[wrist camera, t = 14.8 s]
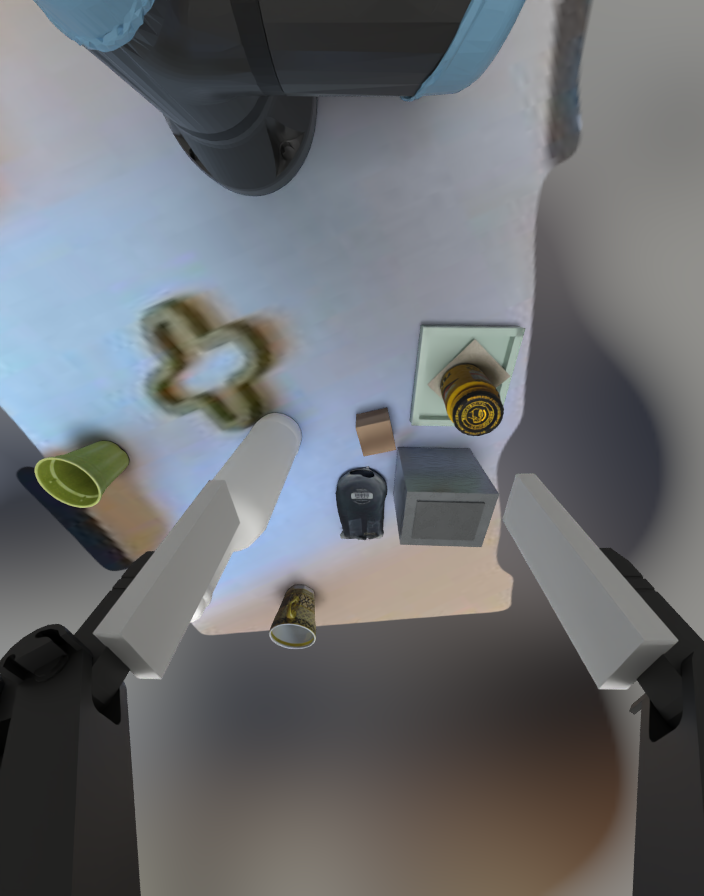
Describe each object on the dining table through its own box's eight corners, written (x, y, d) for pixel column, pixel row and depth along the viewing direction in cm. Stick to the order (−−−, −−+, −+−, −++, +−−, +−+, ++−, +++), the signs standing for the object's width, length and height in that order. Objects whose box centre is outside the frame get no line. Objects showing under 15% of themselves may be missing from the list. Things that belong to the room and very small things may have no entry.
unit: (397, 446, 48) (407, 492, 37) (469, 448, 48) (499, 495, 37) (393, 495, 53) (400, 547, 42) (457, 496, 53) (481, 549, 42)
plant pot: (91, 471, 53) (46, 502, 45) (77, 426, 48) (24, 452, 41) (142, 480, 54) (106, 512, 46) (133, 437, 49) (91, 464, 41)
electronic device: (387, 520, 59) (387, 466, 50) (385, 544, 54) (385, 489, 45) (343, 517, 60) (335, 464, 51) (338, 539, 56) (328, 486, 47)
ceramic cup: (323, 605, 71) (317, 649, 63) (283, 604, 72) (272, 648, 63) (318, 572, 65) (311, 616, 56) (275, 571, 65) (262, 615, 57)
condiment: (426, 384, 42) (432, 416, 32) (474, 338, 38) (499, 358, 28) (460, 416, 43) (476, 456, 33) (510, 375, 39) (545, 407, 29)
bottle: (264, 456, 50) (155, 642, 24) (248, 416, 46) (98, 583, 20) (307, 450, 49) (244, 637, 23) (295, 408, 45) (201, 574, 19)
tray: (420, 325, 38) (423, 327, 37) (518, 326, 38) (525, 328, 36) (409, 420, 45) (411, 425, 44) (492, 421, 45) (497, 427, 43)
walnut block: (356, 414, 45) (355, 427, 41) (387, 407, 45) (389, 420, 40) (363, 440, 48) (363, 456, 43) (393, 434, 47) (396, 449, 43)
